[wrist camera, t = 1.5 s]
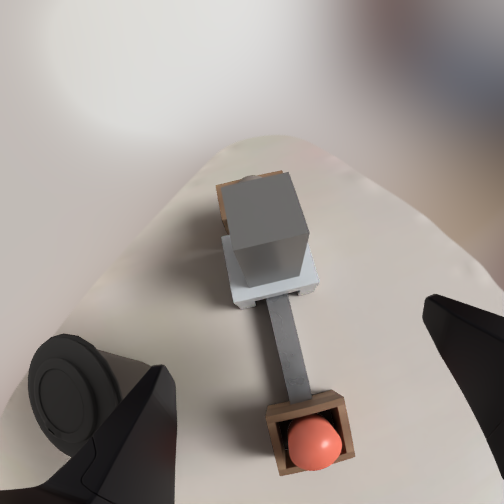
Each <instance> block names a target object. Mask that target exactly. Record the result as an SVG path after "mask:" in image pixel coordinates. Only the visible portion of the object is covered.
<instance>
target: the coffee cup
mask: <svg viewBox="0 0 504 504" xmlns="http://www.w3.org/2000/svg"><path fill="white" fill-rule="evenodd" d="M150 367H151V366H149V365H147V364H145V363H143V362H140V361H136V360H133V359H129V358H125V357H121V356H118V355H114V354H111V353H107V352H104V351H101V350H97V349H96V348H95V347H94V346H93V345H92V344H90V343H89V342H87V341H86V340H84V339H82V338H81V337H79V336H76V335H70V334H60V335H57V336H54V337H51V338H50V339H49V340H47V341H46V342H45V343H43V344H42V345H41V346H40V347H39V348H38V350H37V351H36V353H35V355H34V356H33V359H32V361H31V364H30V368H29V375H28V391H29V398H30V403H31V407H32V410H33V413H34V415H35V418H36V420H37V422H38V424H39V426H40V428H41V429H42V431H43V432H44V434H45V435H46V436H47V438H48V439H49V440H50V441H51V442H52V443H53V444H54V445H55V446H56V447H57V448H58V449H59V450H61V451H62V452H63V453H65V454H67V455H68V456H70V457H73V456H74V455H75V454H76V453H77V452H78V451H79V450H80V449H81V447H82V446H83V445H84V444H85V443H86V442H87V441H88V439H89V438H90V437H91V436H93V434H94V433H95V431H96V430H97V429H98V428H99V427H100V426H101V424H102V423H103V422H104V421H105V420H106V419H107V417H108V416H109V415H110V414H111V413H112V412H113V410H114V409H115V408H116V407H117V406H118V405H119V403H120V402H121V401H122V400H123V399H124V398H125V397H126V395H127V394H128V393H129V392H130V391H131V390H132V388H133V387H134V386H135V385H136V384H137V383H138V381H139V380H140V379H141V378H142V377H143V376H144V374H145V373H146V372H147V371H148V370H149V369H150Z"/></svg>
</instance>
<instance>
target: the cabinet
mask: <svg viewBox="0 0 504 504" xmlns="http://www.w3.org/2000/svg"><path fill="white" fill-rule="evenodd" d="M312 398H313V399H311V400H307V401H303V402H299V403H295V404H291V405H290V401H287V402H283V403H278V404H274V405H269V406H268V407H267V412H266V416H265V418H266V422H267V426H268V430H269V434H270V439H271V443H272V447H273V451H274V455H275V459H276V463H277V467H278V471H279V475H280V476H283V475H289V474H294V473H298V472H303V471H307V470H304V469H301V468H299V467H298V466H296V465H295V464H294V463H293V462H292V460H291V458H290V455H289V449H287V450H285V447H284V443H283V439H282V435H281V430H280V426H279V422H280V421H284V420H289V419H293V418H297V417H302V416H306V415H309V414H313V413H317V412H321V411H324V410H328V409H330V413H331V418H332V422H333V427H334V430H335V431H336V432H337V433H338V435H339V436H340V438H341V441H342V449H341V453H340V455H339V457H338V458H337V459H336V461H335V462H334V463H337V462H340V461H344V460H347V459H350V458H353V457H355V452H354V446H353V441H352V436H351V430H350V425H349V420H348V415H347V410H346V406H345V401H344V397H343V396H341V395H340V394H338V393H336V392H335V391H333V390H329V391H326V392H322V393H319V394H315V395H312ZM334 463H332V464H334Z"/></svg>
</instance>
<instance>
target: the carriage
mask: <svg viewBox="0 0 504 504" xmlns="http://www.w3.org/2000/svg"><path fill="white" fill-rule="evenodd" d="M221 192H222V197H223V202H224V208H225V213H226V218H227V223H228V228H229V233H230V235H226V236H222V237H221V240H222V245H223V251H224V256H225V261H226V266H227V272H228V277H229V282H230V287H231V292H232V297H233V302H234V304H235V305H238V306H239V308H240V309H245V308H250V307H254V306H256V304H255V301H257V300H261V299H265V298H270V297H274V296H278V295H282V294H286V293H290V292H294V291H298V295H299V296H300V295H304V294H308V293H311V292H314V290H315V288H316V286H318V284H319V283H320V281H319V277H318V274H317V271H316V267H315V264H314V261H313V257H312V254H311V251H310V248H309V244H308V238H309V230H308V227H307V224H306V221H305V218H304V215H303V212H302V209H301V206H300V203H299V200H298V197H297V194H296V191H295V189H294V186H293V183H292V180H291V177H290V175H289V172H287V173H282V174H277V175H272V176H267V177H263V178H258V179H254V180H249V181H245V182H241V183H236V184H232V185H228V186H224V187H221Z"/></svg>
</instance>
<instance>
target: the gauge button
mask: <svg viewBox="0 0 504 504" xmlns="http://www.w3.org/2000/svg"><path fill="white" fill-rule="evenodd" d="M287 436H288V446H289V455H290V458H291V460H292V462H293V463H294V464H295V465H296V466H298V467H299V468H301V469H304V470H309V471H315V470H321V469H324V468H326V467H328V466H330V465H331V464H332V463H334V462H335V461H336V459H337V458H338V457H339V455H340V453H341V449H342V441H341V438H340V436H339V435H338V433H337V432H336V431H335V430H334V428H333V427H332V426H331V424H330V423H329V422H328V420H327V419H326V418H325V417H324V416H322V415H321V414H318V413H313V414H309V415H306V416H302V417H297V418H294V419H293V420H292V421H291V423H290V424H289V427H288V431H287Z"/></svg>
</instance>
